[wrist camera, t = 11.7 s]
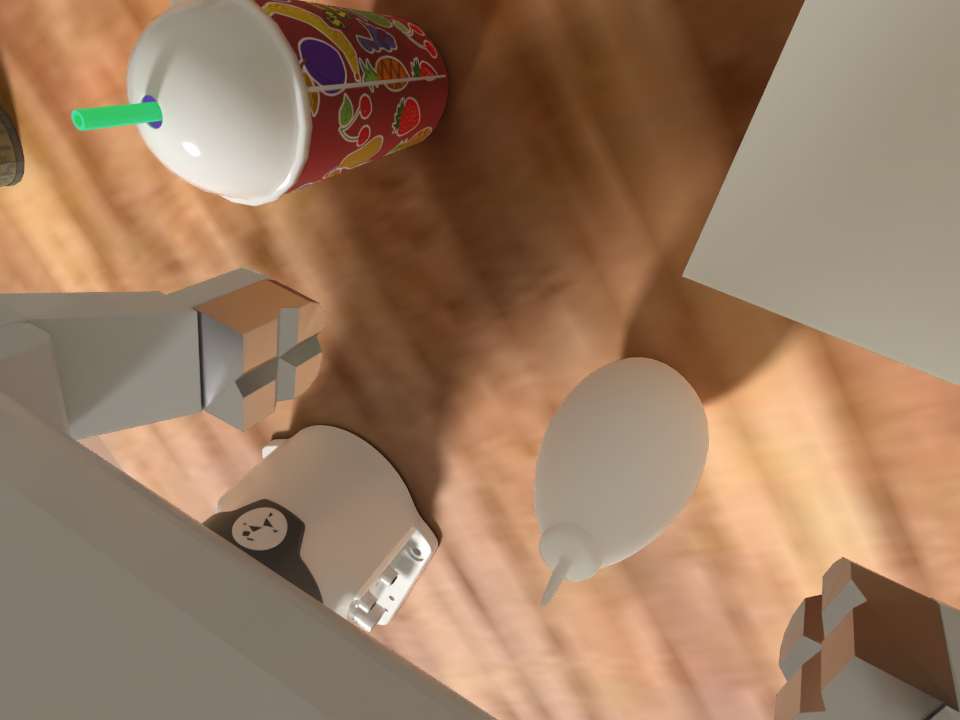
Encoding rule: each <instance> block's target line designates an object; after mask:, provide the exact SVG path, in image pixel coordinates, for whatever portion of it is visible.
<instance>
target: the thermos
mask: <svg viewBox="0 0 960 720" xmlns="http://www.w3.org/2000/svg"><path fill="white" fill-rule="evenodd" d="M23 173H24V158H23V153H22V147H21V144H20V141H19V139H18V136H17V133H16V131H15V129H14V127H13V125H12V123H11V121H10V119H9V118H8V116H7V114H6V113H5V112H4V110H3V109H2V108H1V106H0V187H1V186H12V185H15V184H17V183H18V182H20V181H21V178H22V176H23Z"/></svg>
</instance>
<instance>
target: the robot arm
mask: <svg viewBox="0 0 960 720" xmlns="http://www.w3.org/2000/svg"><path fill="white" fill-rule="evenodd" d="M324 327H325V310H324V309H323V307H322V306H321V305H320V303H318V302H316V301H314V300H312V299H310V298H308V297H306V296H304V295H302V294H301V293H299V292H297V291H295V290H293V289H291V288H289V287H287V286H285V285H283V284H281V283H279V282H277V281H275V280H272V279H271V278H269V277H267V276H265V275H263V274H261V273H259V272H257V271H255V270H253V269H247V268H240V269H237V270H234V271H231V272H228V273H226V274H223V275H220V276H217V277H214V278H212V279H209V280H206V281H203V282H201V283H198V284H195V285H192V286H189V287H187V288H184V289H181V290H178V291H176V292H173V293H170V294H167V295H165V294H163V293H161V292H159V291H153V292H87V293H20V294H0V720H497V719H496V718H494V717H493V716H491V715H490V714H488V713H487V712H485V711H483V710H482V709H480V708H479V707H477V706H476V705H474V704H473V703H471V702H470V701H468V700H467V699H465V698H464V697H462V696H461V695H459V694H458V693H456V692H455V691H453V690H452V689H450V688H449V687H447V686H446V685H444V684H443V683H441V682H440V681H438V680H437V679H435V678H434V677H432V676H431V675H429V674H428V673H426V672H424V671H423V670H421V669H420V668H418V667H417V666H415V665H414V664H412V663H411V662H409V661H408V660H406V659H405V658H403V657H402V656H400V655H399V654H397V653H396V652H394V651H393V650H391V649H390V648H388V647H387V646H385V645H384V644H382V643H381V642H379V641H378V640H376V639H375V638H373V637H372V636H370V635H369V634H367V633H366V632H364V631H363V630H361V629H360V628H358V627H357V625H360V626H361V627H362V628H363V629H364V630H366V631H367V632H371V631H372V629H373V628H374V627H375V626H376V624H380V625H386V624H388V623H389V622H390V621H391V620H392V618H393V617H394V616H395V615H396V613H397V611H398V610H399V608H400V607H401V605H402V604H403V602H404V600H405V599H406V597H407V596H408V594H409V592H410V591H411V589H412V588H413V586H414V585H415V583H416V581H417V580H418V578H419V577H420V575H421V573H422V572H423V570H424V569H425V567H426V566H427V564H428V562H429V561H430V559H431V558H432V556H433V554H434V553H435V551H436V550H437V548H438V541H437V538H436V537H435V535H434V533H433V532H432V531H431V529H430V528H429V527H428V525H427V524H426V523H425V522H424V520H423V519H422V518H421V517H420V515H419V514H418V512H417V510H416V508H415V505H414V503H413V500H412V498H411V496H410V493H409V491H408V489H407V487H406V485H405V484H404V482H403V480H402V479H401V477H400V476H399V474H398V473H397V472H396V470H395V469H394V468H393V467H392V465H391V464H390V463H389V462H388V461H387V460H386V459H385V458H384V457H383V456H382V455H381V454H380V453H379V452H378V451H377V450H376V449H375V448H373V447H372V446H371V445H370V444H368V443H367V442H365V441H364V440H362V439H361V438H359V437H357V436H356V435H354V434H352V433H350V432H348V431H345V430H343V429H340V428H336V427H332V426H327V425H314V426H309V427H306V428H304V429H302V430H300V431H299V432H298V433H296V434H295V435H294V436H293V437H291V438H289V439H275V440H272V441H270V442H269V443H268V444H267V445H266V446H265V447H264V448H263V450H262V454H263V460H262V461H261V462H260V463H259V464H257V465H256V466H255V467H254V468H253V469H252V470H251V471H250V472H248V473H247V474H246V475H245V476H244V477H243V478H242V479H241V480H239V481H238V482H237V483H236V484H235V485H234V486H233V487H232V488H231V489H230V490H228V491H227V492H226V493H225V494H224V495H223V496H222V497H221V498H220V499H219V500H218V502H217V504H216V514H214V515H212V516H211V517H210V518H209V519H207V520H206V521H205V522H203V523H200V522H198V521H197V520H195V519H194V518H192V517H191V516H189V515H188V514H186V513H185V512H183V511H182V510H180V509H179V508H177V507H176V506H174V505H173V504H171V503H170V502H168V501H167V500H165V499H164V498H162V497H161V496H159V495H158V494H156V493H155V492H153V491H152V490H150V489H148V488H147V487H145V486H144V485H142V484H141V483H139V482H138V481H136V480H135V479H133V478H132V477H130V476H129V475H127V474H126V473H124V472H123V471H121V470H120V469H118V468H117V467H115V466H114V465H112V464H111V463H109V462H108V461H106V460H104V459H103V458H102V457H100V456H98V455H97V454H96V453H94V452H93V451H91V450H90V449H88V448H87V447H85V446H83V445H82V444H81V443H79V442H78V441H76V440H80V439H85V438H89V437H93V436H98V435H102V434H107V433H111V432H115V431H120V430H124V429H129V428H133V427H137V426H142V425H146V424H151V423H155V422H159V421H164V420H168V419H173V418H177V417H181V416H186V415H190V414H195V413H199V412H201V411H202V410H204V411H206V412H208V413H210V414H212V415H213V416H215V417H217V418H219V419H221V420H223V421H224V422H226V423H228V424H230V425H232V426H234V427H235V428H237V429H239V430H241V431H243V432H244V431H245V430H247V429H248V428H250V427H251V426H253V425H255V424H256V423H258V422H259V421H261V420H262V419H264V418H265V417H267V416H269V415H270V414H272V413H273V412H274V411H275V406H276V402H277V401H284V400H291V399H295V398H296V397H298V396H299V395H301V394H302V393H304V392H305V391H306V390H307V389H308V388H309V386H310V385H311V384H312V382H313V381H314V380H315V378H316V377H317V375H318V372H319V369H320V366H321V361H322V349H321V347H320V344H319V342H318V340H317V337H316V336H317V335H318V334H319V333H320V332H321V331H323V330H324ZM779 667H780V669H781V670H782V672H783V674H784V676H785V678H786V680H787V683H786V684H785V685H784V686H783V688H782V689H781V690H780V691H779V692H778V693H777V695H776V705H775V718H774V720H960V610H958V609H956V608H953V607H951V606H949V605H947V604H945V603H942V602H940V601H938V600H936V599H934V598H929V597H927V596H924V595H922V594H920V593H918V592H916V591H914V590H912V589H910V588H907V587H905V586H903V585H901V584H899V583H897V582H895V581H893V580H891V579H888V578H886V577H884V576H882V575H880V574H878V573H876V572H874V571H872V570H869V569H867V568H865V567H863V566H861V565H859V564H857V563H855V562H852V561H850V560H848V559H846V558H844V557H842V558H841V559H839V560H838V561H836V562H835V563H834V564H833V565H832V566H831V567H830V568H829V570H828V571H827V572H826V573H825V574H824V576H823V588H822V595H818V596H813V597H809V598H805V599H804V601H803V602H802V603H801V605H800V606H799V607H798V609H797V610H796V611H795V613H794V614H793V616H792V618H791V620H790V622H789V625H788V627H787V629H786V631H785V633H784V637H783V641H782V645H781V649H780V658H779Z"/></svg>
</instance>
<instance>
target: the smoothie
mask: <svg viewBox="0 0 960 720" xmlns="http://www.w3.org/2000/svg"><path fill="white" fill-rule="evenodd" d="M126 84H127V100H128V104H127V105H117V106H107V107H97V108H87V109H77V110H74V111H73V112H72V120H73V123H74V125H75V126H76V127H77V129H79V130H82V131H83V130H91V129H99V128H107V127H115V126H123V125H131V124H135V126H136V128H137V130H138V132H139V134H140V136H141V137H142V139H143V140H144V142H145V143H146V145H147V146H148V148H149V149H150V151H151V152H152V154H153V155H154V156H155V157H156V158H157V159H158V160H159V161H160V162H161V163H162V164H163V165H164V166H165V167H166V168H167V169H168V170H170V171H171V172H172V173H173V174H174V175H176V176H178V177H179V178H181V179H183V180H185V181H186V182H188V183H190V184H192V185H194V186H195V187H197V188H199V189H201V190H203V191H206V192H210V193H213V194H217V195H220V196H222V197H224V198H226V199H228V200H229V201H231V202H233V203H239V204H244V205H250V206H258V205H262V204H265V203H269V202H272V201H276V200H277V199H279V198H281V197H282V196H283V195H284V194H287V193H290V192H293V191H296V190H298V189H301V188H303V187H306V186H309V185H311V184H314V183H316V182H319V181H322V180H324V179H327V178H329V177H332V176H334V175H337V174H340V173H342V172H345V171H347V170H350V169H353V168H355V167H358V166H360V165H363V164H365V163H368V162H371V161H373V160H376V159H378V158H381V157H384V156H386V155H389V154H391V153H394V152H397V151H399V150H402V149H404V148H407V147H409V146H412V145H415V144H417V143H420V142H422V141H423V140H424V139H425V138H426V137H427V136H429V135H430V134H431V133H432V132H433V131H434V129H435V127H436V125H437V124H438V122H439V120H440V118H441V117H442V113H443V111H444V110H445V107H446V102H447V98H448V93H449V89H448V74H447V70H446V67H445V63H444V60H443V58H442V56H441V54H440V53H439V51H438V49H437V48H436V46H435V44H434V43H432V41H431V39H430V38H429V36H428V35H427V34H426V33H425V32H423V31H422V30H421V29H420V28H419V27H418V26H417V25H415V24H414V23H412V22H410V21H407V20H405V19H402V18H400V17H395V16H389V15H383V14H377V13H371V12H365V11H359V10H353V9H347V8H341V7H335V6H329V5H323V4H317V3H311V2H305V1H299V0H173V1H172V3H171V4H170V6H169V7H168V9H167V10H165V11H164V12H162V13H161V14H159V15H158V16H156V17H155V18H153V19H152V20H151V21H150V22H149V24H148V25H147V26H146V27H145V29H144V30H143V31H142V33H141V35H140V36H139V38H138V40H137V41H136V43H135V44H134V46H133V49H132V51H131V54H130V57H129V62H128V67H127V72H126Z"/></svg>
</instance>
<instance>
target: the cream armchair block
mask: <svg viewBox="0 0 960 720" xmlns="http://www.w3.org/2000/svg"><path fill="white" fill-rule="evenodd" d="M682 276H683V277H685V278H688V279H690V280H693V281H696V282H698V283H701V284H703V285H706V286H708V287H711V288H713V289H716V290H718V291H721V292H723V293H726V294H728V295H731V296H733V297H736V298H738V299H741V300H743V301H746V302H748V303H751V304H753V305H756V306H759V307H761V308H764V309H766V310H769V311H771V312H774V313H776V314H779V315H781V316H784V317H786V318H789V319H791V320H794V321H796V322H799V323H801V324H804V325H806V326H809V327H811V328H814V329H817V330H819V331H822V332H824V333H827V334H829V335H832V336H834V337H837V338H839V339H842V340H844V341H847V342H849V343H852V344H854V345H857V346H859V347H862V348H864V349H867V350H869V351H872V352H874V353H877V354H880V355H882V356H885V357H887V358H890V359H892V360H895V361H897V362H900V363H902V364H905V365H907V366H910V367H912V368H915V369H917V370H920V371H922V372H925V373H927V374H930V375H932V376H935V377H937V378H940V379H943V380H945V381H948V382H950V383H953V384H955V385H959V383H960V0H805V2H804V4H803V6H802V8H801V11H800V13H799V15H798V17H797V19H796V22H795V24H794V26H793V28H792V31H791V33H790V35H789V37H788V40H787V42H786V44H785V46H784V49H783V51H782V53H781V55H780V58H779V60H778V62H777V64H776V66H775V69H774V71H773V73H772V75H771V78H770V80H769V82H768V84H767V87H766V89H765V91H764V93H763V96H762V98H761V100H760V102H759V105H758V107H757V109H756V111H755V113H754V116H753V118H752V120H751V122H750V125H749V127H748V129H747V131H746V134H745V136H744V138H743V140H742V143H741V145H740V147H739V149H738V152H737V154H736V156H735V158H734V160H733V163H732V165H731V167H730V169H729V172H728V174H727V176H726V178H725V181H724V183H723V185H722V187H721V190H720V192H719V194H718V196H717V199H716V201H715V203H714V205H713V207H712V210H711V212H710V214H709V216H708V219H707V221H706V223H705V225H704V228H703V230H702V232H701V234H700V237H699V239H698V241H697V243H696V246H695V248H694V250H693V252H692V254H691V257H690V259H689V261H688V263H687V266H686V268H685V270H684V272H683V275H682Z"/></svg>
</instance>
